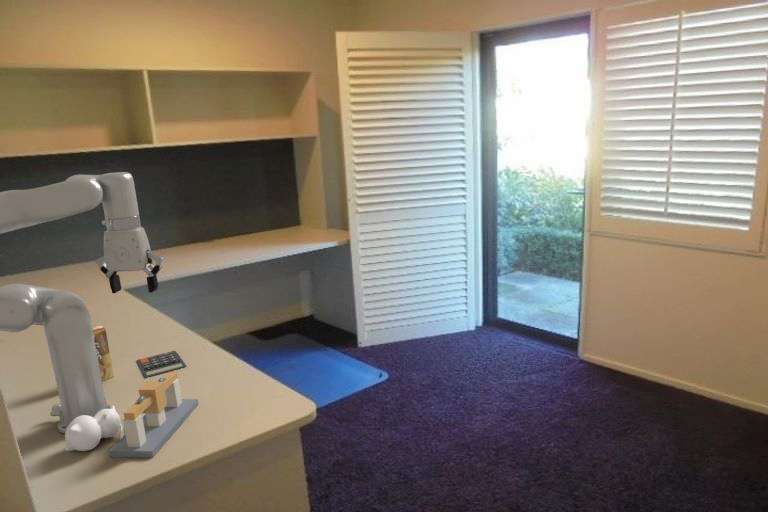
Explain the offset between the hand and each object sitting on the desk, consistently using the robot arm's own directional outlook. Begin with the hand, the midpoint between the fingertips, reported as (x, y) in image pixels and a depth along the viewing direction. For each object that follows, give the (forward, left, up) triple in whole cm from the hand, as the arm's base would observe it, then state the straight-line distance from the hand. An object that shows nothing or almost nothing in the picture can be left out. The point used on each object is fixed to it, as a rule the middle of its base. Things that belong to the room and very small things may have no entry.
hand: (135, 291), depth 138 cm
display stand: (+8, -13, -30) cm, 34 cm away
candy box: (-24, +12, -31) cm, 41 cm away
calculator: (-10, +23, -31) cm, 40 cm away
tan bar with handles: (+8, -13, -25) cm, 29 cm away
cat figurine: (-3, -20, -31) cm, 37 cm away
